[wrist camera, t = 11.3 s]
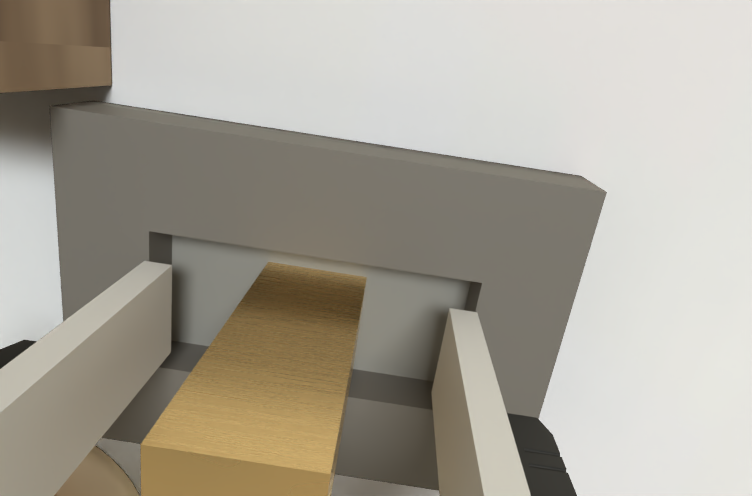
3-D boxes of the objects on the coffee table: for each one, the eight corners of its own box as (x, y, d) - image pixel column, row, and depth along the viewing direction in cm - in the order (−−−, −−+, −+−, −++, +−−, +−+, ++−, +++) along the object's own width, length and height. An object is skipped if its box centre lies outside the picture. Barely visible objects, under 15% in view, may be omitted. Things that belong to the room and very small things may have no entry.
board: (105, 394, 18) (70, 432, 16) (94, 100, 15) (49, 106, 13) (502, 456, 18) (513, 502, 16) (580, 176, 15) (606, 192, 13)
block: (268, 261, 16) (140, 444, 8) (367, 276, 16) (330, 474, 8) (261, 348, 17) (141, 582, 9) (354, 362, 17) (311, 608, 9)
